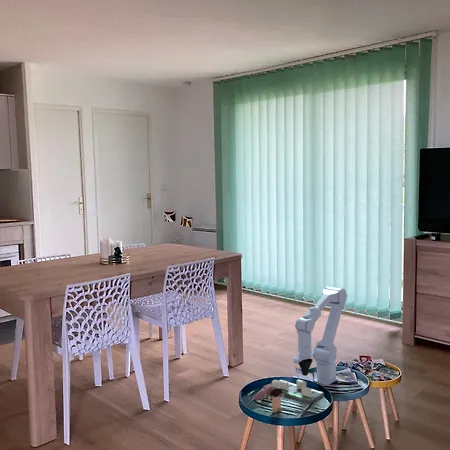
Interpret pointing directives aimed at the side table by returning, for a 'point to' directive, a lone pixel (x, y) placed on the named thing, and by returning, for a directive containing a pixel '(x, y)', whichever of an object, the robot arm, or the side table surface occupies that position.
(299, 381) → the block
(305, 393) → the block
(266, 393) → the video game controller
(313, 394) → the breaker panel
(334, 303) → the robot arm
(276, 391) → the grandmother figurine
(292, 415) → the side table surface
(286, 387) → the block
